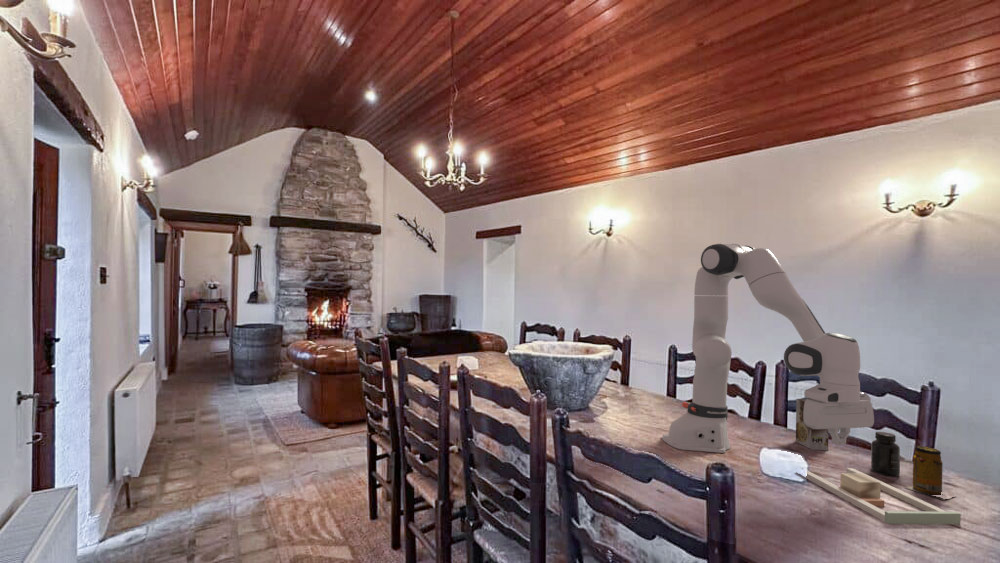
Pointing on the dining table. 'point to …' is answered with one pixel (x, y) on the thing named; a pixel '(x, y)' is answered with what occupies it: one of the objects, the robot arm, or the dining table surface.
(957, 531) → the dining table surface
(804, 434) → the coffee box
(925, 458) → the condiment
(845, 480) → the oak block
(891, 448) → the supplement bottle
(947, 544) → the dining table surface
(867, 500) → the frame
